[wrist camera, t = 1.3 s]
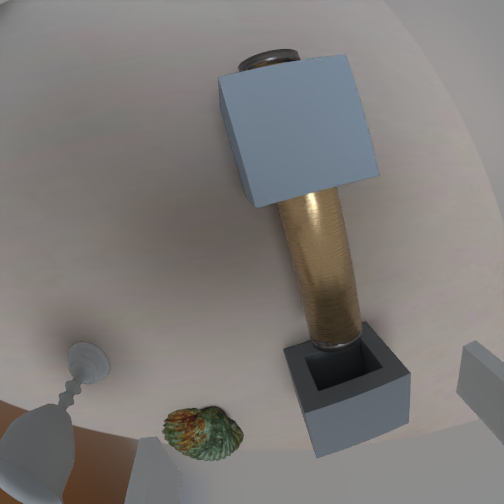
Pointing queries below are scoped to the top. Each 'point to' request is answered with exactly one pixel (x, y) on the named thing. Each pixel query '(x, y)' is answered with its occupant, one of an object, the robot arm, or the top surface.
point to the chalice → (48, 436)
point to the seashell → (202, 433)
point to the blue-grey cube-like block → (296, 128)
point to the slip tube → (319, 252)
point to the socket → (349, 392)
